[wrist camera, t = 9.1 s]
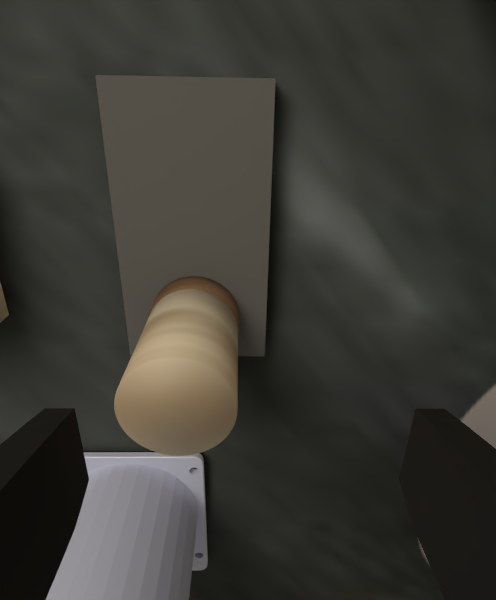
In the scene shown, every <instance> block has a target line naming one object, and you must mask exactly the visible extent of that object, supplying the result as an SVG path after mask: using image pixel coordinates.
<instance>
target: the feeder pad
mask: <svg viewBox="0 0 496 600" xmlns="http://www.w3.org/2000/svg"><path fill="white" fill-rule="evenodd" d="M95 76H96V84H97V93H98V101H99V109H100V117H101V125H102V133H103V141H104V149H105V157H106V165H107V173H108V181H109V189H110V197H111V205H112V213H113V221H114V229H115V237H116V245H117V253H118V261H119V269H120V277H121V285H122V293H123V301H124V309H125V317H126V325H127V333H128V341H129V349H130V356H132V355H133V352H134V350H135V348H136V345H137V343H138V341H139V339H140V336H141V334H142V332H143V329H144V327H145V325H146V323H147V319H148V315H149V312H150V310H151V308H152V306H153V303H154V301H155V299H156V297H157V295H158V294H159V292H160V291H161V290H162V289H163V288H164V287H165V286H166V285H167V284H169V283H170V282H172V281H174V280H176V279H179V278H183V277H188V276H200V277H206V278H209V279H212V280H214V281H216V282H218V283H220V284H221V285H223V286H224V287H225V288H227V289H228V291H229V292H230V293H231V294H232V295H233V297H234V298H235V300H236V302H237V305H238V309H239V338H238V356H265V338H266V312H267V287H268V261H269V236H270V210H271V184H272V159H273V133H274V108H275V82H276V79H274V78H222V77H170V76H117V75H95Z"/></svg>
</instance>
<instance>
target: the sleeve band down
mask: <svg viewBox="0 0 496 600" xmlns="http://www.w3.org/2000/svg"><path fill="white" fill-rule="evenodd" d="M238 338H239V309H238V305H237V302H236V300H235V298H234V297H233V295H232V294H231V293H230V292H229V291H228V289H227V288H225V287H224V286H223V285H221V284H220V283H218V282H216V281H214V280H212V279H209V278H206V277H200V276H188V277H183V278H179V279H176V280H174V281H172V282H170V283H169V284H167V285H166V286H165V287H164V288H163V289H162V290H161V291H160V292H159V294H158V295H157V297H156V299H155V301H154V303H153V306H152V308H151V310H150V312H149V315H148V319H147V323H146V325H145V327H144V329H143V332H142V334H141V336H140V339H139V341H138V343H137V345H136V348H135V350H134V352H133V355H132V357H131V359H130V361H129V364H128V366H127V368H126V371H125V373H124V375H123V377H122V380H121V382H120V384H119V387H118V389H117V391H116V395H115V401H114V408H115V414H116V417H117V420H118V422H119V424H120V426H121V427H122V429H123V430H124V431H125V433H126V434H127V435H128V436H129V437H130V438H131V439H133V440H134V441H135V442H136V443H138V444H140V445H141V446H143V447H145V448H147V449H149V450H152V451H154V452H157V453H161V454H166V455H175V456H184V455H193V454H197V453H201V452H204V451H207V450H209V449H211V448H213V447H215V446H216V445H218V444H219V443H221V442H222V441H223V440H224V439H225V438H226V437H227V436H228V435H229V433H230V432H231V430H232V429H233V427H234V424H235V422H236V418H237V402H238Z"/></svg>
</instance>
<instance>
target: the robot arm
mask: <svg viewBox="0 0 496 600" xmlns="http://www.w3.org/2000/svg"><path fill="white" fill-rule="evenodd" d="M193 468H197V469H193ZM399 479H400V483H401V486H402V490H403V493H404V497H405V500H406V504H407V507H408V510H409V513H410V517H411V520H412V523H413V526H414V529H415V531H416V534H417V536H418V538H419V541H420V543H421V545H422V548H423V550H424V553H425V555H426V557H427V560H428V562H429V564H430V567H431V569H432V571H433V573H434V576H435V578H436V580H437V583H438V585H439V587H440V590H441V592H442V594H443V596H444V599H445V600H496V449H495V448H494V447H492V446H491V445H490V444H489V443H488V442H486V441H485V440H484V439H482V438H481V437H480V436H479V435H477V434H476V433H475V432H474V431H473V430H471V429H470V428H469V427H467V426H466V425H465V424H464V423H462V422H461V421H460V420H459V419H457V418H456V417H455V416H453V415H452V414H451V413H449V412H448V411H447V410H445V409H416V410H415V415H414V419H413V423H412V427H411V431H410V436H409V440H408V444H407V448H406V452H405V457H404V461H403V465H402V469H401V473H400V478H399ZM207 565H208V551H207V526H206V501H205V476H204V458H203V456H202V455H201V454H199V453H197V454H193V455H184V456H175V455H166V454H161V453H157V452H83V447H82V443H81V438H80V433H79V428H78V423H77V418H76V413H75V409H44V410H43V411H41V412H40V413H39V414H37V415H36V416H35V417H34V418H32V419H31V420H30V421H29V422H27V423H26V424H25V425H24V426H23V427H21V428H20V429H19V430H18V431H16V432H15V433H14V434H13V435H12V436H10V437H9V438H8V439H7V440H6V441H4V442H3V443H2V444H1V445H0V600H189V595H190V585H191V575H192V570H204V569H205V568H206V567H207Z"/></svg>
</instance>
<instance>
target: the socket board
mask: <svg viewBox="0 0 496 600" xmlns="http://www.w3.org/2000/svg"><path fill="white" fill-rule="evenodd" d="M8 315H9V313H8V309H7V305H6V301H5V297H4V294H3V290H2V286H1V282H0V323H1V322H2V321H3V320H4V319H5V318H6V317H7V316H8Z"/></svg>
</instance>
